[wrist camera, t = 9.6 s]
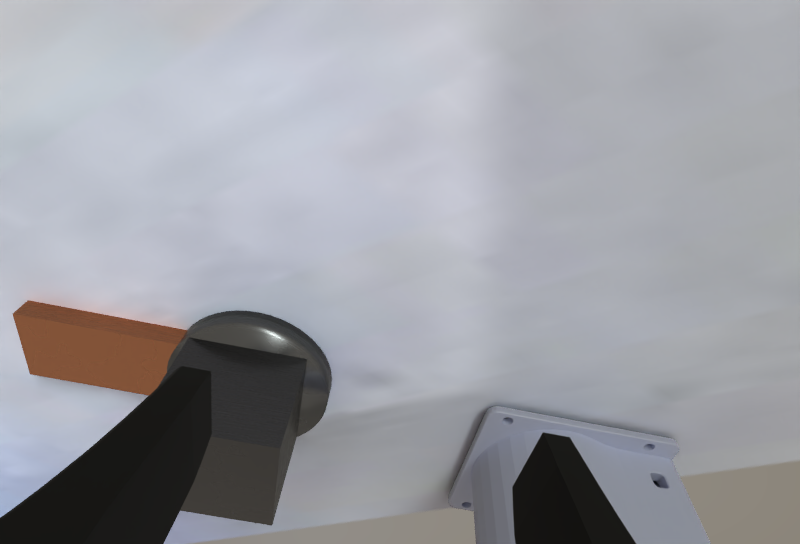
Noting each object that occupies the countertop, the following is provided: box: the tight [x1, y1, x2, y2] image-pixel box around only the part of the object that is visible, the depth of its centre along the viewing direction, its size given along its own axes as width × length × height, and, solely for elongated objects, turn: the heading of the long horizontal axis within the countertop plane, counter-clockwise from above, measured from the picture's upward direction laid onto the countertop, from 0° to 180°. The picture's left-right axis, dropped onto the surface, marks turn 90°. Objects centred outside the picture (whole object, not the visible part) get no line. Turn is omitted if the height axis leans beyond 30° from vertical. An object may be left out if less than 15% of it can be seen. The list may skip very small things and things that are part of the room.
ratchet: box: [13, 300, 332, 436], centre depth 22 cm, size 14×7×4 cm, turn 78°
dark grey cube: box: [157, 337, 307, 525], centre depth 21 cm, size 5×5×4 cm
